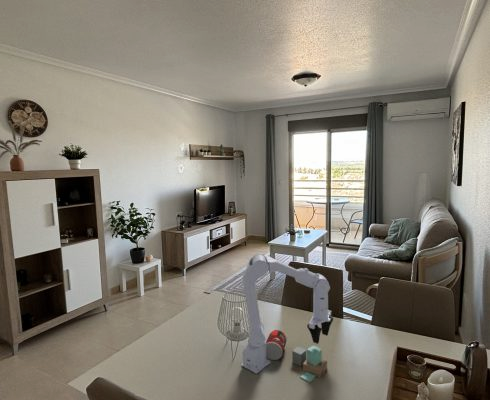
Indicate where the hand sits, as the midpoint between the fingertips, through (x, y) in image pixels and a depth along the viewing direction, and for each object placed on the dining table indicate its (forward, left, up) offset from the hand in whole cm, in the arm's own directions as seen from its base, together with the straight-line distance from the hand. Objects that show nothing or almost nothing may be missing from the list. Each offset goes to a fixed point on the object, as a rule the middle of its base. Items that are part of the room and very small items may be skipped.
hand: (320, 338), depth 127 cm
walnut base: (-6, -1, -10) cm, 12 cm away
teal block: (-6, 0, -7) cm, 9 cm away
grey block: (-6, +6, -10) cm, 13 cm away
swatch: (-12, -1, -10) cm, 15 cm away
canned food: (-1, +20, -6) cm, 21 cm away
